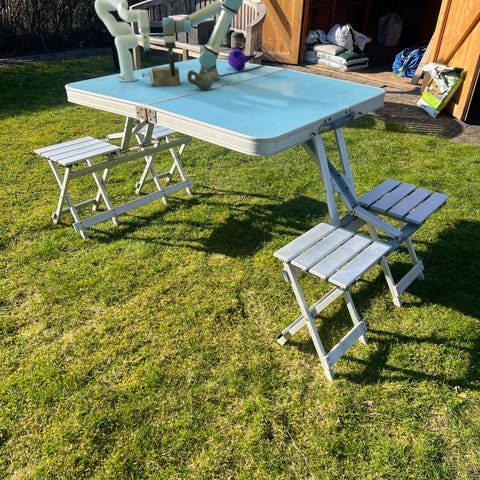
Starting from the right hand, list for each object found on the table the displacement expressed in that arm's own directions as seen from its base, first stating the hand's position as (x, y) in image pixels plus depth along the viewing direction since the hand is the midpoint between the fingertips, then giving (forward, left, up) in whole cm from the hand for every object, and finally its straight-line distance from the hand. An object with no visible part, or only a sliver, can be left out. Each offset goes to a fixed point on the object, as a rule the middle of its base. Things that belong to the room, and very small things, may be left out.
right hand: (172, 75), depth 325 cm
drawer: (+10, -3, -5) cm, 12 cm away
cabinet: (+5, -1, -6) cm, 8 cm away
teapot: (-11, +30, -6) cm, 32 cm away
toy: (-67, -24, -6) cm, 72 cm away
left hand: (+15, -7, +13) cm, 21 cm away
